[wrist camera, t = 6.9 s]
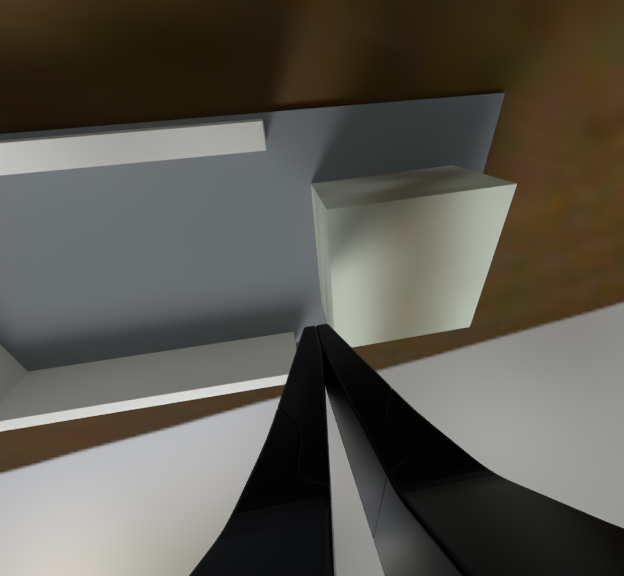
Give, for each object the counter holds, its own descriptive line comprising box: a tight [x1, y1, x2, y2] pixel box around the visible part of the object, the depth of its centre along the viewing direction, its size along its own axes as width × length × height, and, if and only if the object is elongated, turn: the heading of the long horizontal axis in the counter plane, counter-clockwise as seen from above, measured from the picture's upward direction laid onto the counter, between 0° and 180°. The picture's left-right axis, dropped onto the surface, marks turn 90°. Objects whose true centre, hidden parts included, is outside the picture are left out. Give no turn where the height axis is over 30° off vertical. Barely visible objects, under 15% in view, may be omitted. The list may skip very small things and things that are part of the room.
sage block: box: [311, 165, 517, 347], centre depth 13 cm, size 7×7×4 cm
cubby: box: [0, 119, 296, 431], centre depth 12 cm, size 17×13×4 cm
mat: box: [0, 93, 505, 372], centre depth 14 cm, size 29×13×1 cm, turn 94°
